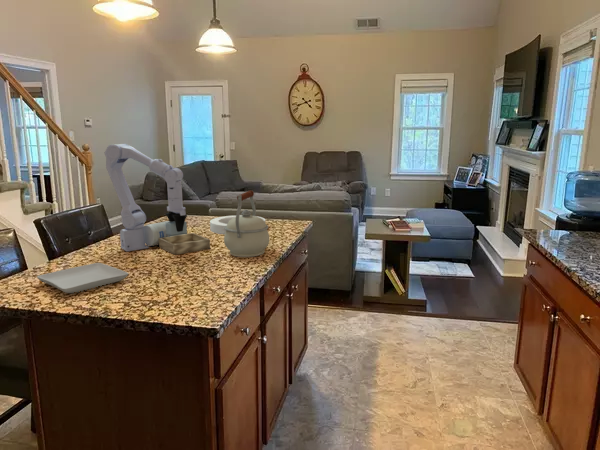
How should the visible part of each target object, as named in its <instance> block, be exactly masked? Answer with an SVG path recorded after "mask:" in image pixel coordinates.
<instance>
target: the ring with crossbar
mask: <svg viewBox="0 0 600 450" xmlns="http://www.w3.org/2000/svg"><path fill="white" fill-rule="evenodd" d="M240 216H242V214H240ZM235 217H236V215H226V216H225V215H224V216H219V217H213V218H212V219H210V221H209V227H210V232H211V233H213V234H219V235H225V232H226V230H225V226H227V224H228V222H229V221H230V220H231V219H233V218H235ZM256 217H259V218H261V219H263V220H264V221H265V222H266V218H264V217H263V216H258V215H256Z"/></svg>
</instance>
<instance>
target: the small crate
mask: <svg viewBox="0 0 600 450" xmlns="http://www.w3.org/2000/svg"><path fill="white" fill-rule="evenodd" d="M187 225H188V224H187V221H185V222H184V226H183V231H180V232H177V229H176V224H175V221H172V222H166V234H167V235H169V236H176V235H183V234H188V226H187Z"/></svg>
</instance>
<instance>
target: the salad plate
mask: <svg viewBox="0 0 600 450" xmlns="http://www.w3.org/2000/svg"><path fill="white" fill-rule="evenodd" d="M128 276H129V272H127V271H125V270H122V269H119V268H116V267H114V266H111V265H108V264H106V263H105V264H104V263H102V262H95V263H90V264H83V265H80V266H75V267H70V268H66V269H62V270H56V271H53V272H48V273H44V274H39V275H37V280H39V281H41V282H42V283H44V284H47V285H49V286H52V287H53V288H56V289H58V290H60V291H62V292H64V293H65V294H75V293H74V292H77V293H80V292H79V291H81V292H84V291H83V290H85V291H88V290H87V289H89V290H92V289H91V288H93V289H96V288H95V287H97V288H99V287H98V286H100V287H103V286H102V285H104V286H107V285H106V284H108V285H111V284H115V283H117V282H120V281H122V280H124V279H125V278H127V277H128ZM110 283H111V284H110Z"/></svg>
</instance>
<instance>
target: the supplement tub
mask: <svg viewBox="0 0 600 450" xmlns="http://www.w3.org/2000/svg"><path fill="white" fill-rule="evenodd" d="M166 222H169V220H166V221H160V222H155V223H150V224H144V236H145V245H146V246H148V247H154V246H159V238H163V237H170V236H169V235H167V234H166Z"/></svg>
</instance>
